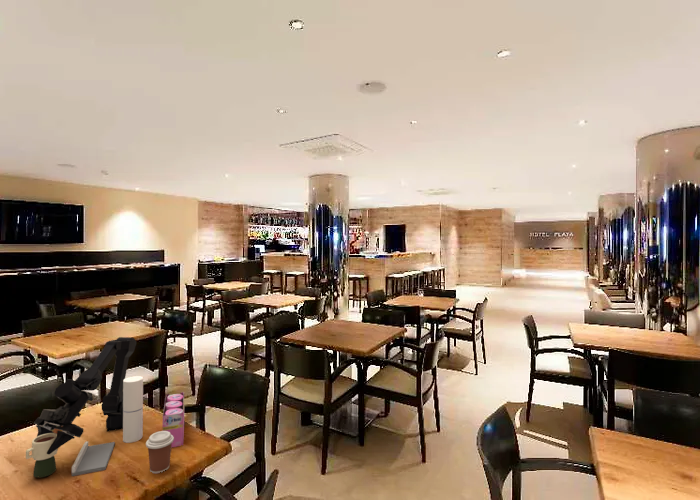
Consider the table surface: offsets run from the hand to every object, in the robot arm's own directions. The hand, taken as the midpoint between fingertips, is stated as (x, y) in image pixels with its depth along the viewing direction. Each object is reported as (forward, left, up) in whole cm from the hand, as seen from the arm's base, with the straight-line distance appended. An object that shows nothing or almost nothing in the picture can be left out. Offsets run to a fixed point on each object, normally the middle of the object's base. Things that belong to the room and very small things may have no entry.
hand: (40, 451), depth 129 cm
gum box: (-42, -15, -9) cm, 45 cm away
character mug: (-1, -1, -9) cm, 9 cm away
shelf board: (-15, -5, -9) cm, 18 cm away
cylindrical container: (-26, -17, -9) cm, 32 cm away
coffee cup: (-38, +10, -9) cm, 40 cm away
